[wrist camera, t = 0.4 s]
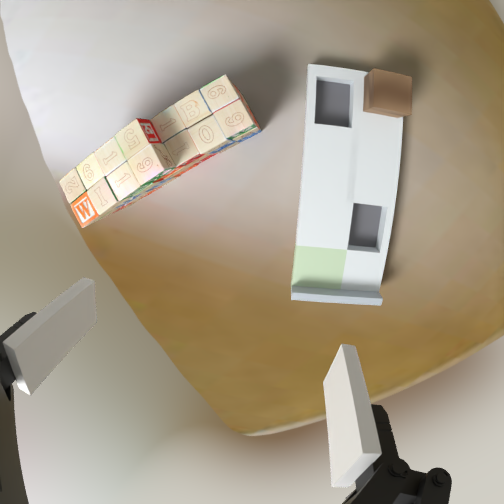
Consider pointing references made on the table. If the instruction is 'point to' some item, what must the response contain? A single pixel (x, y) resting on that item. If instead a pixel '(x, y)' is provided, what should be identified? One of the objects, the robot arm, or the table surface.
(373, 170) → the box
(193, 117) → the stack of blocks
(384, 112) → the walnut block
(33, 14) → the table surface
